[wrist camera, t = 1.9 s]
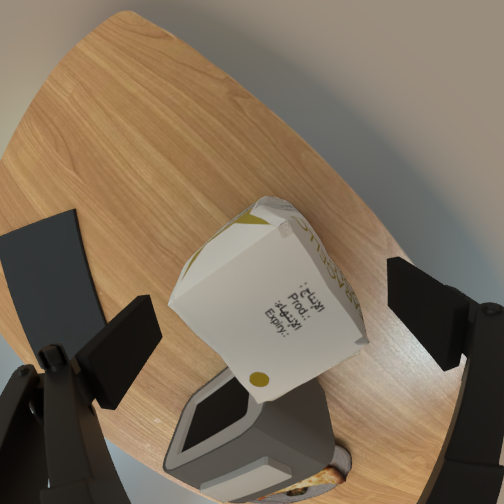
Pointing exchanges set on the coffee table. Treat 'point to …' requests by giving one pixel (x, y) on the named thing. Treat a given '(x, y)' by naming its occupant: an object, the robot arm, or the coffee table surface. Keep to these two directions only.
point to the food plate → (314, 481)
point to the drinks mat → (52, 283)
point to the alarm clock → (249, 440)
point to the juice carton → (270, 300)
